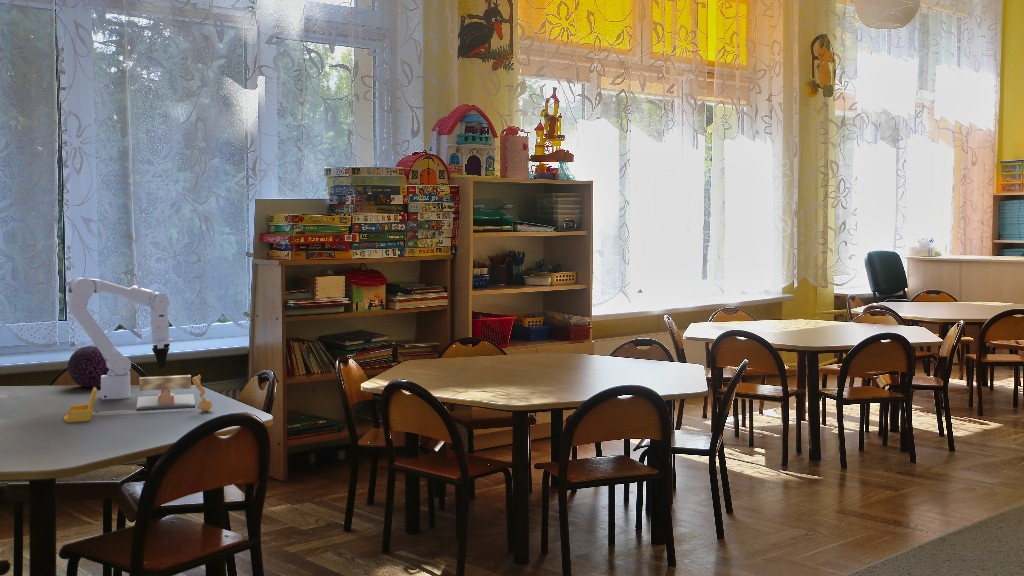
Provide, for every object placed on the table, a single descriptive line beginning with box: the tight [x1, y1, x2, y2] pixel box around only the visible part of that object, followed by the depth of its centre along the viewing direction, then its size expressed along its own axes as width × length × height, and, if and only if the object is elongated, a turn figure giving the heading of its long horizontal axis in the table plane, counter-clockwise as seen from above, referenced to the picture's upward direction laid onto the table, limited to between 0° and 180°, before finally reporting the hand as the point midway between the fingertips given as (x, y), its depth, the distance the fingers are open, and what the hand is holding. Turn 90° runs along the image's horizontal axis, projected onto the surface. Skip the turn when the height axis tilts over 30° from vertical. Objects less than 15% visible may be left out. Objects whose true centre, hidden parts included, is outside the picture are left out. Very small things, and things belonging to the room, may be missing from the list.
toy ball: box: [67, 345, 109, 388], centre depth 371 cm, size 15×15×15 cm
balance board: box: [135, 389, 196, 412], centre depth 339 cm, size 18×20×6 cm
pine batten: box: [139, 374, 192, 392], centre depth 336 cm, size 16×3×4 cm, turn 109°
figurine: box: [191, 374, 213, 413], centre depth 326 cm, size 8×6×12 cm
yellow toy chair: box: [63, 386, 98, 423], centre depth 316 cm, size 10×10×9 cm
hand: (162, 366), depth 353 cm, fingers open, 7 cm apart
